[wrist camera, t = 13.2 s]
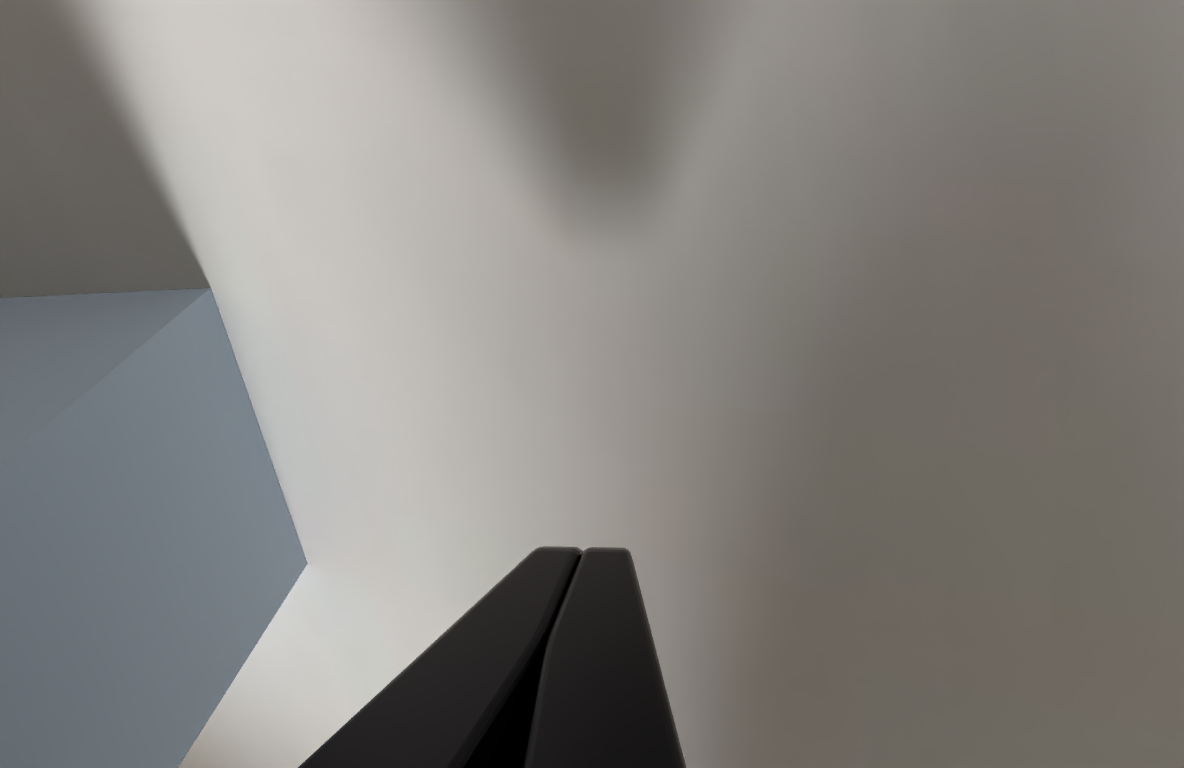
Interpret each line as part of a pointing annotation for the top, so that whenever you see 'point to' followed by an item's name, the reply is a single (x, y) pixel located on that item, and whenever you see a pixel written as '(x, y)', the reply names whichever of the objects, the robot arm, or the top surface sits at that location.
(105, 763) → the book
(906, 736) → the top surface
